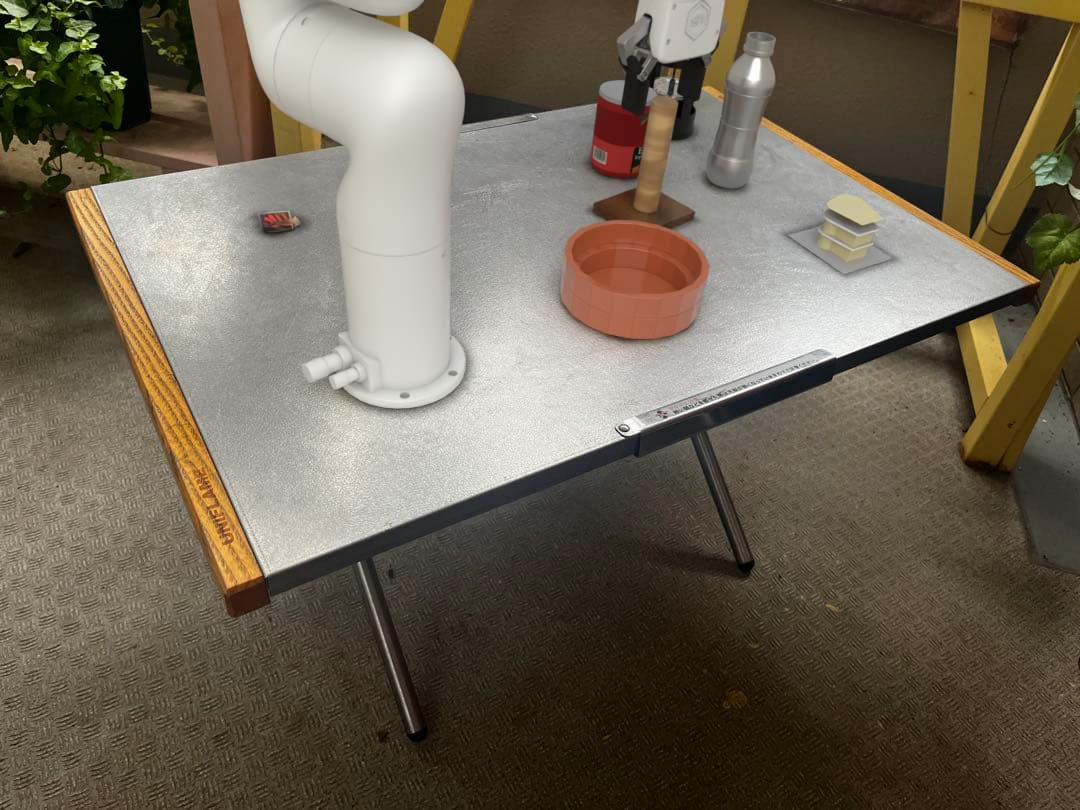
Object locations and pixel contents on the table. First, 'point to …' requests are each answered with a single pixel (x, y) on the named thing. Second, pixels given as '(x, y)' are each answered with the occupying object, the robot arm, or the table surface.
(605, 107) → the canned food
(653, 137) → the stirring stick
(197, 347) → the table surface
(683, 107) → the french press
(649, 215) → the board
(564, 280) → the bowl
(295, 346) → the table surface
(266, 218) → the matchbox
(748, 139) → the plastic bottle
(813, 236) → the stacked layers on plate
